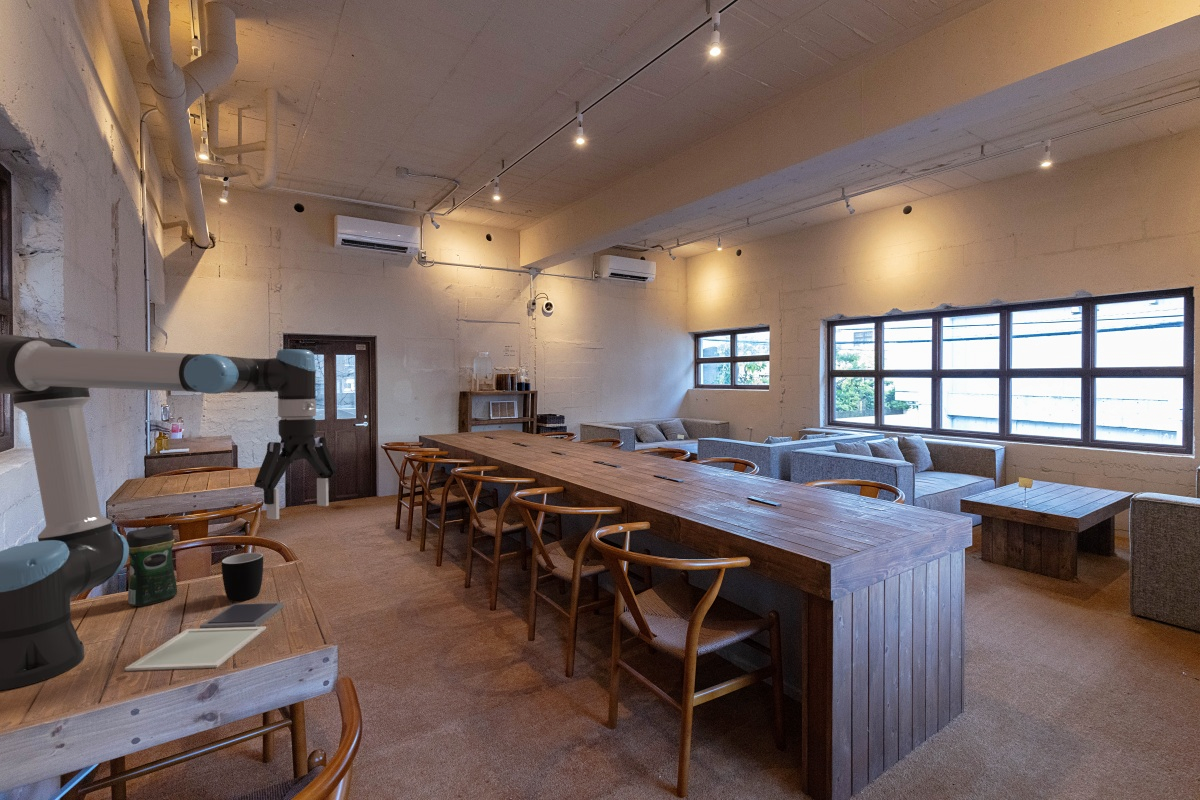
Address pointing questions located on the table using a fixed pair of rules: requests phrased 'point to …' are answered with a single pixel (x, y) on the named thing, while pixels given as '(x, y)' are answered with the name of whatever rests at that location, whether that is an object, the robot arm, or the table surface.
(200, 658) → the marked square
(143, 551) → the coffee jar
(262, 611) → the ink pad
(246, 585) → the mug
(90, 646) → the table surface
